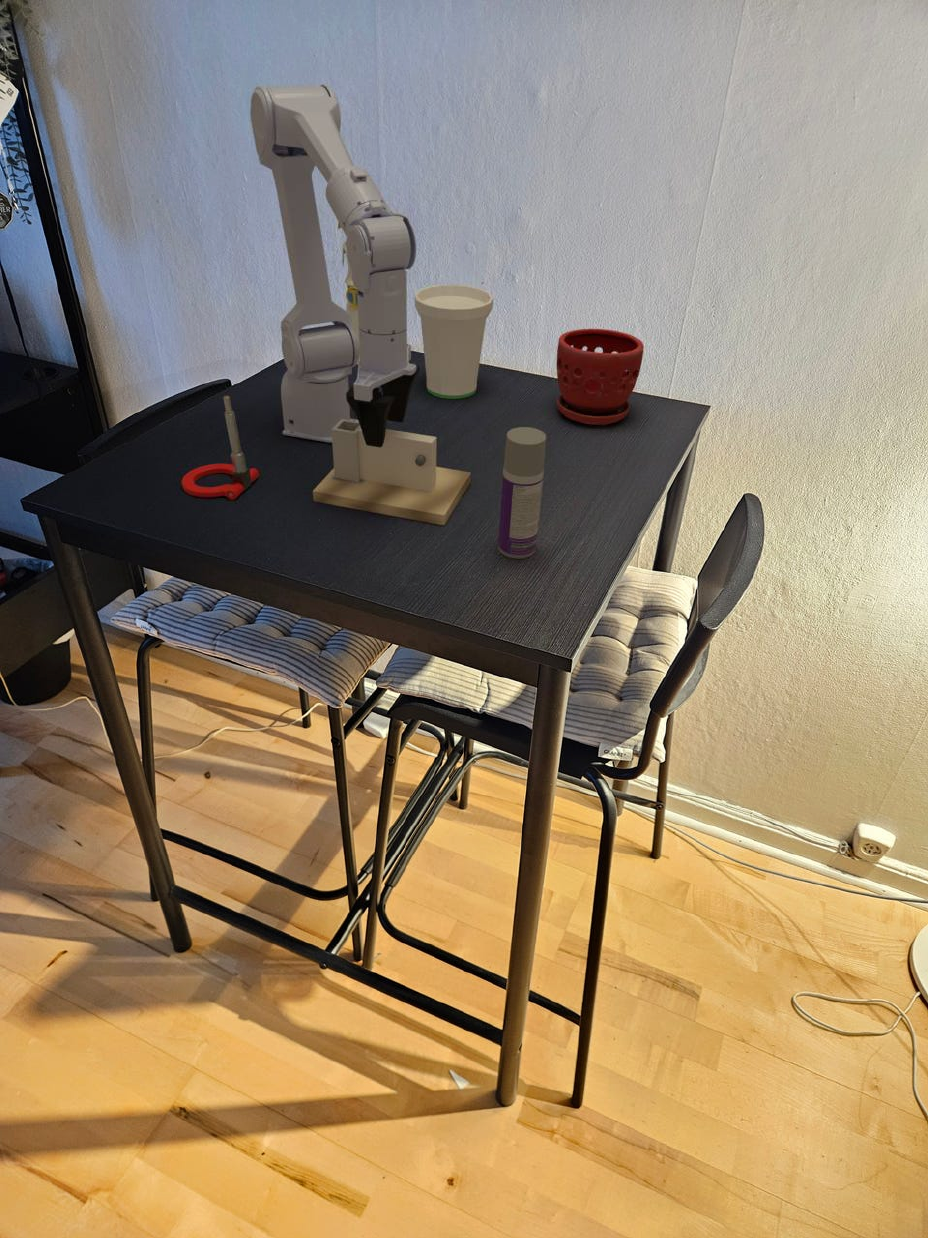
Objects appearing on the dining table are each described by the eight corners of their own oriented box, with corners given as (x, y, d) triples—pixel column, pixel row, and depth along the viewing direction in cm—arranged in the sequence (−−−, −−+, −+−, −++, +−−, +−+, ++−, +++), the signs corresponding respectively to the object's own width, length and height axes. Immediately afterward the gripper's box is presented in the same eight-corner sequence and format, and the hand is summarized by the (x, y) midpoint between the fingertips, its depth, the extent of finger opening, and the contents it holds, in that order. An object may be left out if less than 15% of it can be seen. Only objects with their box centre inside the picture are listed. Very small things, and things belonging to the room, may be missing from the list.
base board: (313, 501, 110) (310, 469, 107) (349, 461, 119) (347, 430, 116) (444, 525, 106) (444, 492, 103) (470, 482, 115) (471, 451, 112)
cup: (488, 405, 136) (494, 310, 126) (412, 402, 136) (411, 306, 126) (488, 376, 145) (493, 285, 136) (416, 373, 145) (416, 282, 136)
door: (334, 477, 112) (331, 429, 108) (344, 466, 114) (341, 418, 110) (429, 494, 109) (430, 445, 105) (437, 482, 112) (438, 434, 107)
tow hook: (171, 495, 111) (233, 504, 108) (148, 402, 103) (214, 410, 101) (204, 467, 117) (263, 475, 115) (184, 378, 109) (248, 385, 107)
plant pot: (649, 419, 134) (662, 345, 126) (587, 437, 128) (597, 360, 120) (595, 390, 142) (605, 319, 135) (534, 406, 136) (541, 333, 129)
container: (495, 538, 104) (503, 426, 95) (532, 537, 105) (543, 426, 95) (500, 559, 100) (508, 445, 91) (538, 558, 101) (550, 444, 92)
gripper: (393, 352, 93) (395, 462, 101) (433, 312, 104) (432, 414, 112) (334, 343, 94) (341, 452, 103) (380, 305, 105) (383, 406, 114)
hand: (385, 432), depth 108 cm, fingers open, 7 cm apart
